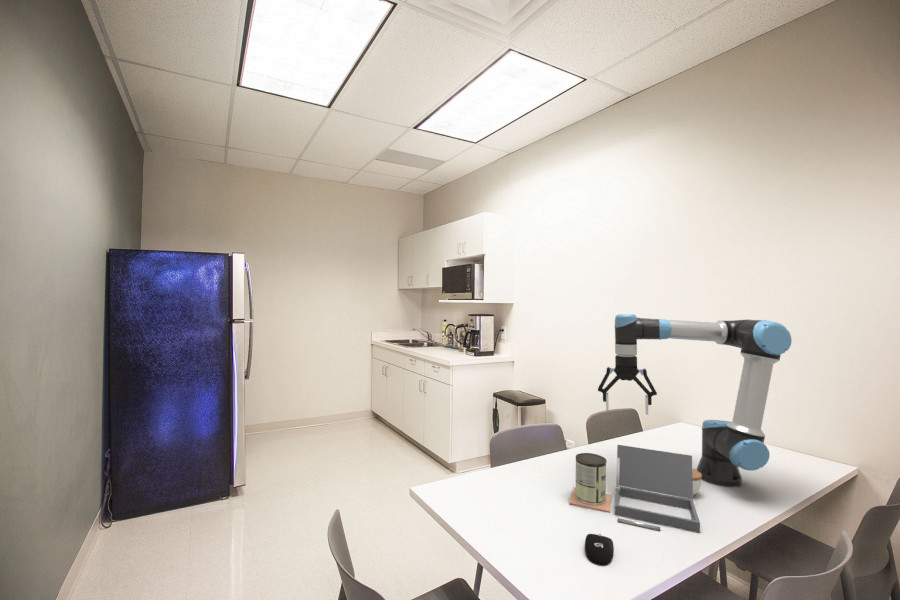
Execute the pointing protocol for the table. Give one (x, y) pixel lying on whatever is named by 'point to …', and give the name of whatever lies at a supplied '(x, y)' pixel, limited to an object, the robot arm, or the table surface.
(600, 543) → the computer mouse
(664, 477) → the case
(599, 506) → the pad
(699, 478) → the lidded jar
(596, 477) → the coffee can
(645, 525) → the rod
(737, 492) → the table surface
